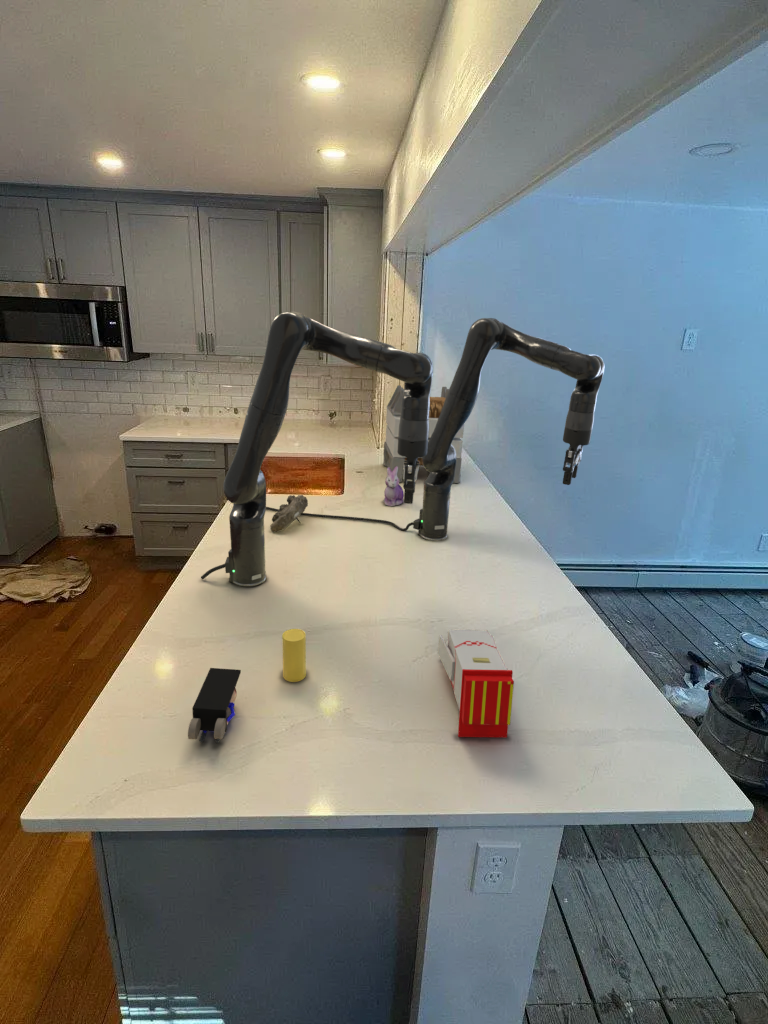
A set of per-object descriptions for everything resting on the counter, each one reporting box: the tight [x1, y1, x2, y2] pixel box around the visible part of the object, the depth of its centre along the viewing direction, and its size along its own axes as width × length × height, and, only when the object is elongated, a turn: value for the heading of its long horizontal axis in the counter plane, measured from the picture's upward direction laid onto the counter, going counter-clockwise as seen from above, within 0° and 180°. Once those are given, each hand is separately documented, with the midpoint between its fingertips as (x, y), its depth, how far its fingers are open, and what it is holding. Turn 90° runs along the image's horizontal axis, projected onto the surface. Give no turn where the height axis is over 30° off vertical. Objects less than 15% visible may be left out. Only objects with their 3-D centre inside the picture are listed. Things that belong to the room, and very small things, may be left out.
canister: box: [281, 628, 307, 683], centre depth 120 cm, size 5×5×10 cm
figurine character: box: [187, 667, 241, 744], centre depth 105 cm, size 7×8×15 cm
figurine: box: [383, 466, 404, 507], centre depth 229 cm, size 9×10×15 cm
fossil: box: [270, 494, 309, 533], centre depth 203 cm, size 22×10×15 cm
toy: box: [437, 628, 515, 738], centre depth 117 cm, size 12×13×30 cm
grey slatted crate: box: [383, 384, 465, 484], centre depth 268 cm, size 34×33×41 cm
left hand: (409, 497), depth 147 cm, fingers open, 8 cm apart
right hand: (569, 480), depth 168 cm, fingers open, 8 cm apart
